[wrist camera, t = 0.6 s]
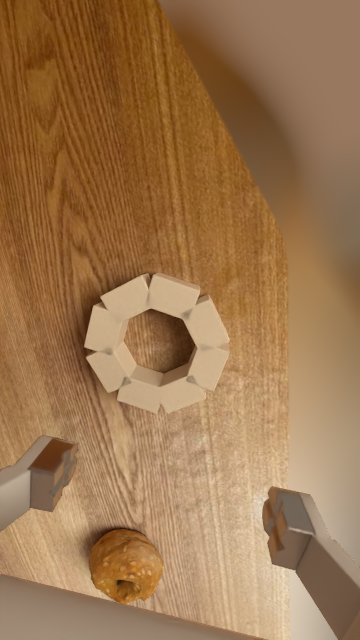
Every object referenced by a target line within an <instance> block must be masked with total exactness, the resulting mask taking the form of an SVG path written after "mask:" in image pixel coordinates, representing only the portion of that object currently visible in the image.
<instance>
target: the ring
mask: <svg viewBox="0 0 360 640" xmlns="http://www.w3.org/2000/svg"><path fill="white" fill-rule="evenodd" d="M199 293H200V286H198V285H195V284H192V283H189V282H186V281H183V280H180V279H177V278H175V277H172V276H169V275H166V274H163V273H160V272H158V273H156V274H153V276H152V279H151V278H150V276H149V274H148V273H146V274H143V275H140V276H138V277H136V278H135V279H133V280H131V281H129V282H127V283H125V284H123V285H121V286H119V287H117V288H115V289H114V290H112V291H110V292H108V293H106V294H104V295H102V296H100V298H101V300H102V302H100V303H98V304H96V305H94V306H93V309H92V313H91V318H90V322H89V326H88V330H87V335H86V339H85V343H84V347H85V348H88V349H91V350H93V351H92V352H91V353H90V354H89V355H88V356H86V359H87V361H88V362H89V364H90V365H91V367H92V369H93V370H94V372H95V373H96V375H97V377H98V378H99V380H100V382H101V383H102V385H103V386H104V388H105V390H106V391H107V393H110V392H113V391H115V390H117V389H119V392H118V395H117V399H116V400H117V401H120V402H123V403H126V404H129V405H132V406H135V407H138V408H141V409H144V410H147V411H149V412H152V413H155V414H157V412H158V409H159V406H160V403H161V404H162V406H163V408H164V410H165V411H166V413H167V414H168V413H171V412H173V411H176V410H178V409H181V408H183V407H186V406H189V405H191V404H194V403H196V402H199V401H202V400H204V399H206V389H207V390H210V391H214V389H215V387H216V385H217V382H218V380H219V377H220V375H221V373H222V370H223V368H224V365H225V363H226V361H227V358H228V356H229V354H230V351H229V348H228V344H227V342H229V341H230V340H229V337H228V334H227V331H226V329H225V327H224V325H223V323H222V320H221V318H220V316H219V314H218V312H217V310H216V308H215V306H214V304H213V302H212V299H211V297H210V295H209V294H207V295H205V296H202V297H200V298H198V296H199ZM150 308H151V309H154V310H157V311H160V312H163V313H166V314H169V315H172V316H175V317H177V318H180V319H183V321H184V323H185V325H186V327H187V329H188V331H189V333H190V335H191V337H192V339H193V341H194V343H195V347H194V349H193V352H192V355H191V357H190V360H189V363H188V364H185V365H183V366H180V367H178V368H176V369H173V370H171V371H169V372H166V373H164V374H163V373H160V372H157V371H154V370H151V369H148V368H145V367H142V366H139V365H137V364H136V362H135V360H134V358H133V357H132V355H131V353H130V351H129V350H128V348H127V346H126V345H125V343H124V337H125V334H126V330H127V327H128V323H129V319H130V318H132V317H134V316H136V315H138V314H140V313H142V312H144V311H146V310H148V309H150Z"/></svg>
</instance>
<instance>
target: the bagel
mask: <svg viewBox="0 0 360 640" xmlns="http://www.w3.org/2000/svg"><path fill="white" fill-rule="evenodd" d="M89 569H90V571H91V580H92V581H93V584H94V585H95V587H96V588H97V589H99V590H101V592H103V593H104V594H106V595H107V596H109V597H110V598H112V599H114V600H115V601H117V602H119V603H122V604H126V603H127V602H130V603H131V601H135V600H136V599H142V600H143V601H144V600H146V599H147V598H149V597H150V596H151V595H152V593H153V592H154V591H155V589H156V587H157V585H158V582H159V581H160V579H161V575H162V573H163V560H162V558H161V556H160V554H159V553H158V551H157V550H156V548H154V546H153V545H152V543H151V542H150V541H149V540H148V539H147V538H146V536H144V535H143V534H141V533H139V532H136V531H131V530H127V529H120V530H119V529H118V530H113V531H110V532H108V533H106V534H105V535H104V536H103V537H102V538H100V539H99V541H98V542H97V543H96V544H95V545H94V546H93V547H92V549H91V552H90V559H89Z"/></svg>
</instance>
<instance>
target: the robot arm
mask: <svg viewBox="0 0 360 640" xmlns="http://www.w3.org/2000/svg"><path fill="white" fill-rule="evenodd" d="M77 451H78V444H77V443H75V442H71V441H67V440H63V439H59V438H54V437H50V436H46V435H42V436H40V437H39V438H38V439H37V440H36V441H35V442H34V444H33V445H32V446H31V447H30V448H29V449H28V450H27V451H26V453H25V454H24V455H23V456H22V457H21V458H20V459H19V460H18V461H17V463H16V464H15V465H14V466H10V465H9V466H7V467H5V468H3V469H1V470H0V531H2V530H3V529H4V528H6V527H7V526H8V525H10V524H11V523H12V522H14V521H15V520H16V519H18V518H19V517H20V516H22V515H23V514H24V513H26V512H27V511H28V510H30V508H34V509H39V510H44V511H49V512H53V510H54V508H55V506H56V505H57V503H58V501H59V500H60V498H61V496H62V490H63V488H64V487H65V486H67V485H68V484H69V482H70V481H71V479H72V477H73V474H74V472H75V469H76V465H77V458H76V456H75V454H76V453H77ZM268 495H269V499H268V500H266V501H265V503H264V506H263V512H262V519H263V526H264V530H265V531H266V533H267V534H268V535H269V540H268V543H267V544H268V548H269V552H270V557H271V561H272V564H274V565H277V566H281V567H285V568H288V569H292V570H296V574H297V575H298V577H299V578H300V580H301V581H302V583H303V584H304V586H305V588H306V589H307V591H308V592H309V594H310V596H311V597H312V599H313V600H314V602H315V604H316V605H317V607H318V608H319V610H320V611H321V613H322V614H323V616H324V618H325V619H326V621H327V622H328V624H329V625H330V627H331V629H332V630H333V632H334V633H335V635H336V637H337V638H338V640H360V566H359V565H358V564H357V563H356V562H355V561H354V560H353V558H352V557H351V556H350V555H349V554H348V553H347V552H346V551H345V550H344V549H343V548H342V547H341V546H340V545H339V544H338V543H337V542H336V541H335V540H332V539H331V537H330V535H329V533H328V531H327V529H326V527H325V524H324V522H323V520H322V518H321V516H320V513H319V511H318V509H317V507H316V505H315V503H314V501H313V498H312V497H311V495H310V494H305V493H301V492H295V491H291V490H287V489H282V488H277V487H273V486H272V487H271V488H270V489H269V492H268ZM0 640H267V639H263V638H259V637H255V636H251V635H247V634H243V633H239V632H235V631H231V630H227V629H223V628H219V627H215V626H211V625H207V624H202V623H198V622H194V621H190V620H186V619H182V618H178V617H174V616H170V615H166V614H162V613H158V612H154V611H150V610H146V609H142V608H138V607H134V606H130V605H126V604H122V603H117V602H113V601H109V600H105V599H101V598H97V597H93V596H89V595H85V594H81V593H77V592H73V591H69V590H65V589H61V588H57V587H53V586H49V585H45V584H41V583H37V582H33V581H29V580H25V579H21V578H17V577H13V576H9V575H4V574H0Z"/></svg>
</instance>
